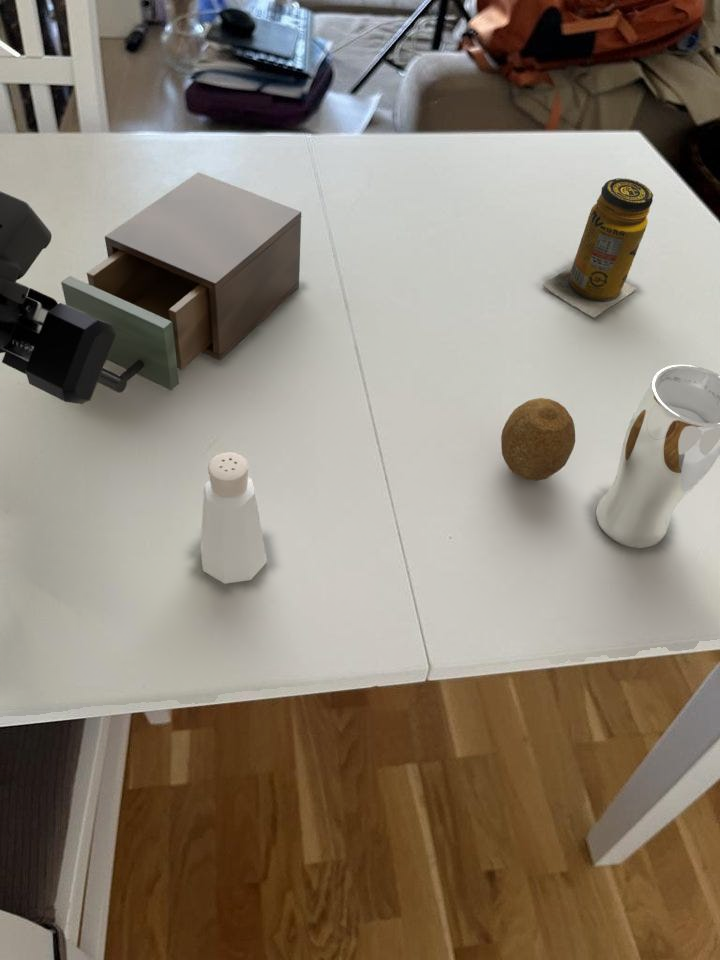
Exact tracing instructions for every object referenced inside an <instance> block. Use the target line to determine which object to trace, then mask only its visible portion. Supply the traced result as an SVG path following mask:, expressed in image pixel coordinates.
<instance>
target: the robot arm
mask: <svg viewBox="0 0 720 960" xmlns="http://www.w3.org/2000/svg"><path fill="white" fill-rule="evenodd" d="M51 241H52V232H51V231H50V229H49V228H48V226H47V225H46V224H45V223H44V221H42V219H41V218H40V216H38V214H37V213H36V211H34V209H33V207H31V205H30V204H29V203H28V202H26V201H24V200H22V199H20V198H18V197H16V196H13V195H11V194H9V193H6V192H3V191H1V190H0V354H3V353H4V355H3V357H2V360H1V363H2V364H4V365H6V366H8V367H10V368H12V369H14V370H17V371H18V372H20V373H21V374H24V375H26V378H27V381H28V383H29V385H31V386H33V387H34V388H37V389H38V390H41V391H42V392H44V393H47V394H49V395H51V396H53V397H55V398H57V399H58V400H61V401H63V402H64V403H70V404H77V405H83V404H86V403H88V402H90V401H91V399H92V397H93V395H94V392H95V389H96V386H97V384H98V383H97V382H98V379H99V377H100V374H101V372H102V369H103V368H105V367H104V366H105V364H106V361H107V360H106V359H107V356H108V354H109V351H110V349H111V346H112V344H113V341H114V339H115V336H116V334H115V331H114V328H113V325H112V324H109V323H107V322H105V321H103V320H101V319H99V318H96V317H94V316H92V315H90V314H88V313H86V312H83V311H81V310H78V309H76V308H73V307H71V306H68V305H66V303H62V302H59V303H58V301H57V300H56V299H55V298H53V297H51V296H48V295H47V294H44V293H42V292H40V291H39V290H36V289H34V288H31V287H28V286H26V285H24V284H22V283H19V282H17V281H18V280H20V279H22V278H23V277H24V276H25V275H26V274H27V272H28V271H29V269H30V268H31V267H32V265H33V264H34V262H35V261H36V260H37V258H38V257H39V255H40V254H41V253H42V251H43V250H44V249H47V248H48V246H49V245H50V243H51Z"/></svg>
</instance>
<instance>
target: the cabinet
mask: <svg viewBox="0 0 720 960" xmlns="http://www.w3.org/2000/svg"><path fill="white" fill-rule="evenodd" d="M301 234H302V211H301V210H297V209H295V208H292V207H291V206H287V205H285V204H282V203H280V202H277V201H274V200H271V199H269V198H266V197H264V196H262V195H259V194H256V193H254V192H251V191H248V190H246V189H244V188H240V187H238V186H235V185H233V184H230V183H228V182H225V181H222V180H219V179H217V178H215V177H212V176H210V175H206V174H205V173H202V172H199V171H198V172H197V173H195V174H193V175H192V176H191V177H189V178H188V179H186V180H185V181H183V182H182V183H181V184H179V185H178V186H176V187H174V188H173V189H172V190H170V191H168V192H167V193H166V194H165V195H163V196H161V197H160V198H158V199H157V200H156V201H153V203H151V204H150V205H148V206H146V208H144V209H142V210H140V212H138V213H137V214H135V215H134V216H132V217H130V218H129V219H128V220H126V221H124V223H122V224H121V225H119V226H117V227H116V228H114V229H113V230H112V231H110V232H109V233H107V234H105V236H104V241H105V248H106V253H107V258H109V257H110V256H111V255H113V254H114V253H116V252H117V251H119V250H122V251H124V252H127V253H129V254H131V255H134V256H136V257H138V258H141V259H143V260H145V261H148V262H150V263H152V264H155V265H157V266H159V267H162V268H164V269H166V270H169V271H171V272H173V273H175V274H178V275H180V276H182V277H185V278H187V279H189V280H192V281H194V282H196V283H199V284H201V285H203V286H206V287H208V288H209V295H210V310H211V324H212V339H213V343H212V344H210V345H209V346H208V347H207V348H206V349H205V350H204V351H203V352H202V353H201V354H204V355H206V356H209V357H211V358H214V360H217V361H219V362H220V361H222V360H223V359H224V358H225V357H226V356H227V355H228V354H230V352H231V351H233V350H234V349H235V348H236V347H237V346H238V345H239V344H240V343H241V342H242V341H243V340H244V339H245V338H246V337H247V336H249V334H250V333H252V332H253V331H254V330H255V329H256V328H257V327H258V326H259V325H261V324H262V322H264V321H265V320H266V319H267V318H268V317H269V316H270V315H271V314H272V313H273V312H274V311H275V310H276V309H277V308H278V307H280V306H281V304H283V303H284V302H285V301H286V300H287V299H288V298H289V297H290V296H291V295H292V294H294V293H295V291H297V290H298V289H299V288H300V273H301V272H300V271H301V269H300V268H301V239H302V237H301V236H302V235H301Z"/></svg>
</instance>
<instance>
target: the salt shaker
mask: <svg viewBox="0 0 720 960" xmlns="http://www.w3.org/2000/svg"><path fill="white" fill-rule="evenodd" d="M249 469H250V467H249V462H248V461H247V459H246V458H245V457H244V456H243V455H241V454H239V453H237V452H229V451H226V452H222V453H218V454H217V455H215V456H214V457H212V458H211V459H210V461H209V462H208V465H207V471H208V474H209V475H208V476H209V480H208V481H207V482H205V484H204V487H203V498H202V499H203V500H202V517H201V532H200V548H199V549H200V557H201V565H202V571H203V572H204V573H206V574H207V575H209V576H211V577H212V578H214V579H216V580H217V581H219V582H221V583H222V584H233V583H239V582H240V583H241V582H246V581H247V582H248V581H252V580H253V579H254V578H255V577H256V575H257V574H258V573H259V572H260V571H261V569H262V568H263V567H264V566H265V565H266V564H267V563H268V559H267V558H268V557H267V553H266V547H265V542H264V536H263V531H262V530H263V529H262V525H261V519H260V514H259V513H260V512H259V508H258V502H257V497H256V492H255V491H256V490H255V487H254V481H253V478H252V477H249Z"/></svg>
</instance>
